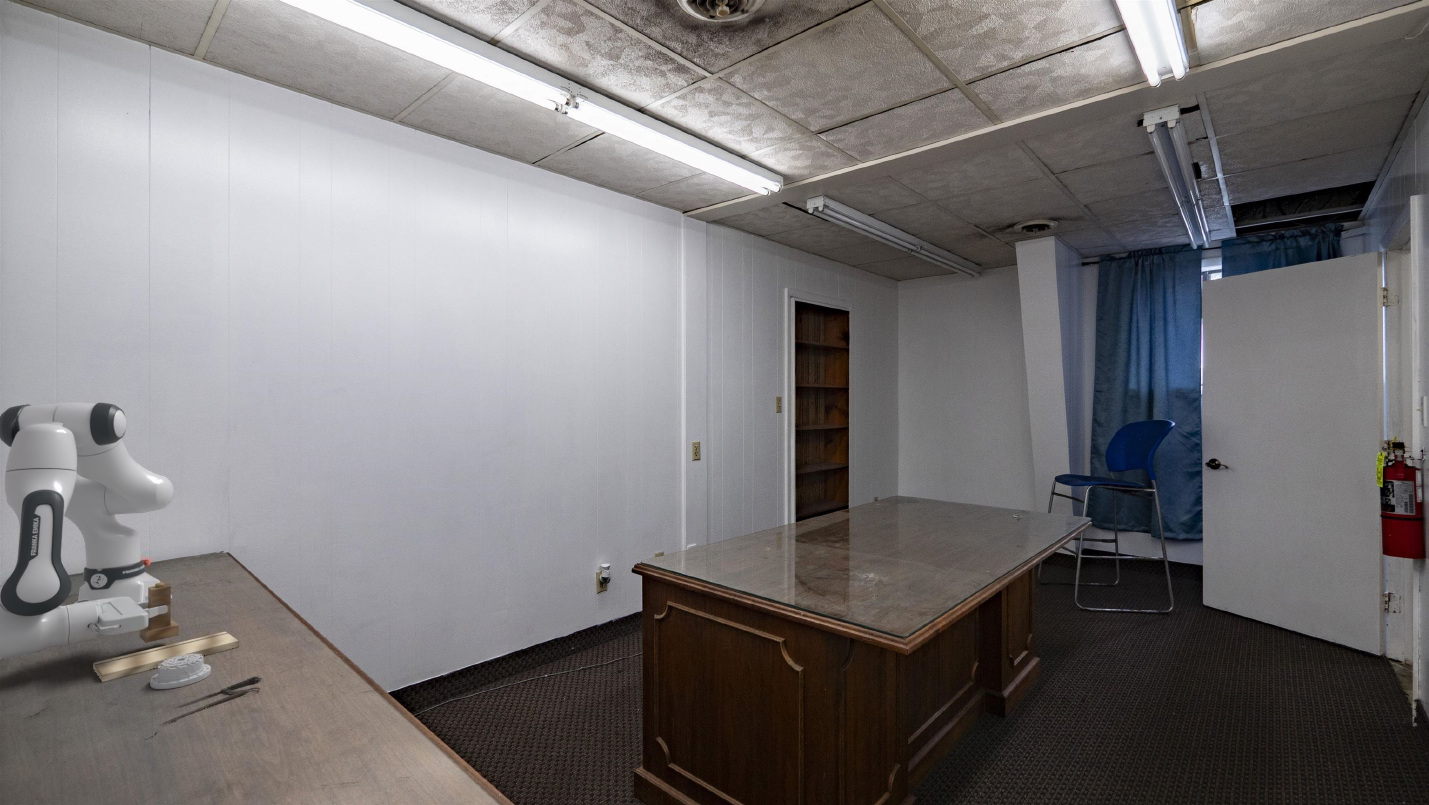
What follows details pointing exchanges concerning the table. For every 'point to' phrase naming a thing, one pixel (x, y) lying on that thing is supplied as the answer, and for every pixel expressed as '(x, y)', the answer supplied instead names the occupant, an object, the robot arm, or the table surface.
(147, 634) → the wooden peg post
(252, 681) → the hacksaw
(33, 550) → the robot arm
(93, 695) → the table surface
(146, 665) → the plank
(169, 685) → the mechanical component
